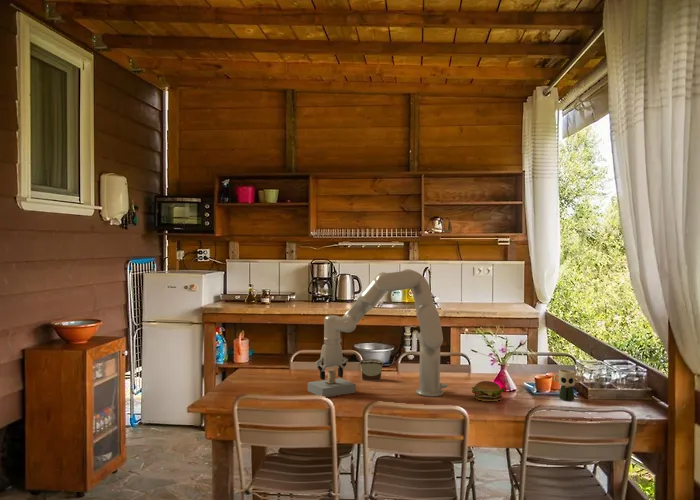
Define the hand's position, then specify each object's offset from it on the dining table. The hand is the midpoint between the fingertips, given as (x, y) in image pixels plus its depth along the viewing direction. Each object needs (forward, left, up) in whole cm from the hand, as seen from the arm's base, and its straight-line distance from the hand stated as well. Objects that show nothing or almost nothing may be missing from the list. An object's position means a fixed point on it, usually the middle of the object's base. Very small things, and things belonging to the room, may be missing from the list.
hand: (331, 378), depth 258 cm
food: (-54, +47, -7) cm, 72 cm away
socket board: (0, 0, -6) cm, 6 cm away
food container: (-31, -11, -6) cm, 34 cm away
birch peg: (0, 0, -6) cm, 6 cm away
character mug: (-85, +66, -6) cm, 108 cm away
